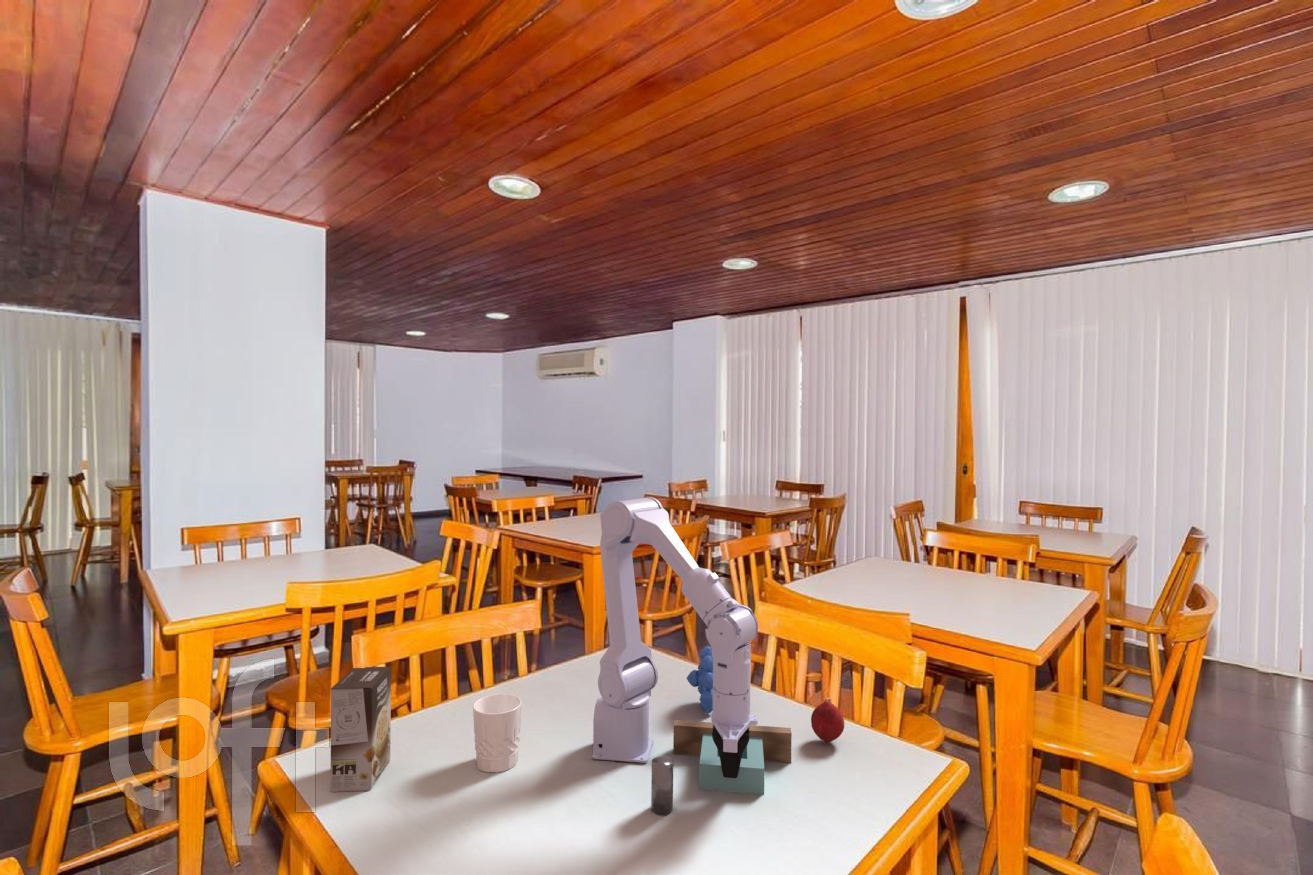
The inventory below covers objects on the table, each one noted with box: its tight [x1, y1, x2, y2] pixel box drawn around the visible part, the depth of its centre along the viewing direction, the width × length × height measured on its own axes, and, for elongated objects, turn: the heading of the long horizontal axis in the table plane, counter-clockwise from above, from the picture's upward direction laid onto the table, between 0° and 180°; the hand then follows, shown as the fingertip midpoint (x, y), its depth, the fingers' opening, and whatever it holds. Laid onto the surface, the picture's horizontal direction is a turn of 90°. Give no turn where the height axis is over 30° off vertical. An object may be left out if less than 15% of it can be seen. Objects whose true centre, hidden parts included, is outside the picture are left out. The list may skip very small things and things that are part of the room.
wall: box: [672, 719, 793, 764], centre depth 110 cm, size 20×2×5 cm, turn 82°
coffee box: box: [329, 666, 392, 793], centre depth 102 cm, size 9×6×16 cm
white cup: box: [472, 693, 522, 773], centre depth 107 cm, size 8×8×10 cm
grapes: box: [686, 645, 713, 714], centre depth 128 cm, size 12×7×12 cm, turn 178°
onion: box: [810, 697, 845, 744], centre depth 114 cm, size 6×6×8 cm
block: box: [698, 734, 765, 796], centre depth 104 cm, size 10×10×4 cm
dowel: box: [650, 756, 674, 817], centre depth 94 cm, size 3×3×7 cm
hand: (730, 775), depth 98 cm, fingers closed
